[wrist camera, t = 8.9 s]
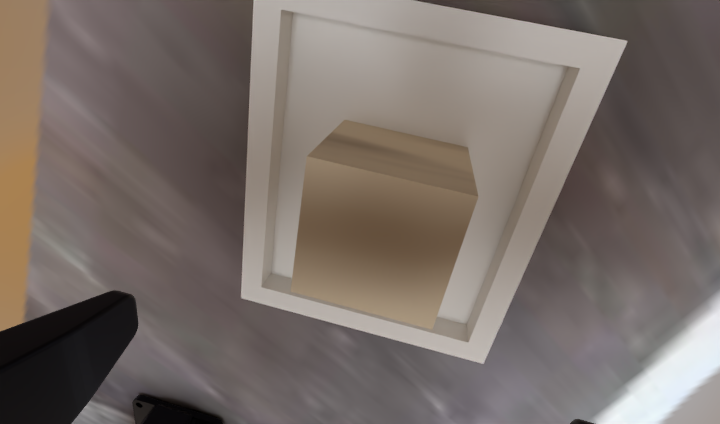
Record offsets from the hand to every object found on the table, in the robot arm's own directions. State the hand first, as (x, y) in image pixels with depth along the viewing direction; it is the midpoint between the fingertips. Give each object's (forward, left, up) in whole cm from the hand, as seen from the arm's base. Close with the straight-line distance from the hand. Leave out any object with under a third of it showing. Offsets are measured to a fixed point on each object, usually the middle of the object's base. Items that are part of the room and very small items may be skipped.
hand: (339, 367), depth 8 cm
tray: (0, 0, -11) cm, 11 cm away
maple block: (0, 0, -10) cm, 10 cm away
